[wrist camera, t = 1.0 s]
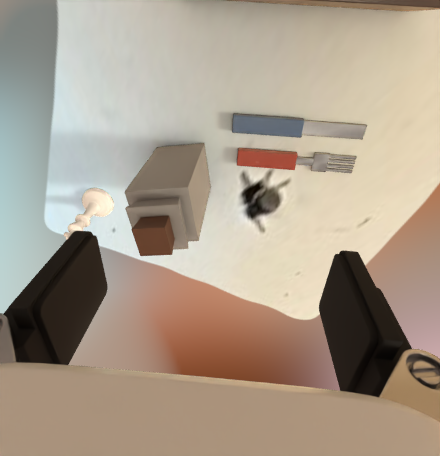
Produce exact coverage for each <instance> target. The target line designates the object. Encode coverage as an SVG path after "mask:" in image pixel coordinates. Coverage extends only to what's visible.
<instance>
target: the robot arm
mask: <svg viewBox="0 0 440 456" xmlns="http://www.w3.org/2000/svg"><path fill="white" fill-rule="evenodd" d="M106 292H107V282H106V277H105V273H104V268H103V263H102V259H101V254H100V250H99V245H98V240H97V237H96V236H93V234H92V233H91V232H89V231H74V232H73V233H72V234H71V235H70V237H69V238H68V239H67V240H66V241H65V242H64V244H63V245H62V246H61V247H60V248H59V250H58V251H57V252H56V253H55V254H54V255H53V256H52V257H51V259H50V260H49V261H48V262H47V263H46V264H45V266H44V267H43V268H42V269H41V270H40V271H39V273H38V274H37V275H36V276H35V277H34V278H33V279H32V281H31V282H30V283H29V284H28V285H27V286H26V287H25V289H24V290H23V291H22V292H21V293H20V295H19V296H18V297H17V298H16V299H15V300H14V301H13V303H12V304H11V305H10V306H9V308H8V309H7V310H6V311H5V313H4V314H1V313H0V456H440V359H439V358H438V357H436V356H435V355H433V354H430V353H429V352H426V351H423V350H419V349H412V348H411V346H410V344H409V342H408V340H407V338H406V336H405V335H404V333H403V331H402V329H401V327H400V325H399V323H398V321H397V319H396V318H395V316H394V314H393V312H392V310H391V308H390V306H389V304H388V303H387V301H386V299H385V297H384V295H383V293H382V291H381V290H380V289H379V288H376V286H375V284H374V282H373V280H372V279H371V277H370V275H369V273H368V271H367V269H366V267H365V265H364V263H363V261H362V259H361V257H360V255H359V253H358V252H353V251H341V252H340V253H339V254H335V256H334V259H333V262H332V265H331V268H330V272H329V275H328V278H327V281H326V284H325V287H324V291H323V294H322V297H321V300H320V304H319V311H320V315H321V319H322V323H323V327H324V330H325V334H326V338H327V342H328V345H329V349H330V353H331V357H332V361H333V365H334V368H335V372H336V376H337V380H338V383H339V387H340V391H337V390H328V389H320V388H311V387H302V386H292V385H282V384H271V383H262V382H251V381H241V380H231V379H220V378H210V377H199V376H188V375H177V374H165V373H155V372H144V371H133V370H132V371H131V370H121V369H110V368H109V369H108V368H96V367H87V366H73V365H68V364H69V362H70V360H71V359H72V357H73V355H74V353H75V351H76V349H77V347H78V346H79V344H80V342H81V340H82V338H83V336H84V334H85V332H86V331H87V329H88V327H89V325H90V323H91V321H92V319H93V317H94V315H95V314H96V312H97V310H98V308H99V306H100V304H101V302H102V301H103V299H104V297H105V295H106Z"/></svg>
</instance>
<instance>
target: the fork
mask: <svg viewBox="0 0 440 456" xmlns="http://www.w3.org/2000/svg"><path fill="white" fill-rule="evenodd" d="M297 156H298V155H297V152H286V151H273V150H260V149H248V148H238V158H237V165H238V166H251V167H264V168H276V169H289V170H295V165H296V164H299V165H311V171H318V172H326V171H332V172H344V173H352V170H345V169H332V168H327V167H337V168H350V169H353V167H354V166H351V165H339V164H328V162H336V163H349V164H355V161H350V160H338V159H329V157H331V158H344V159H356V158H357V157H356V156H346V155H333V154H330V153H318V152H315V154H314V158H309V157H297Z"/></svg>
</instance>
